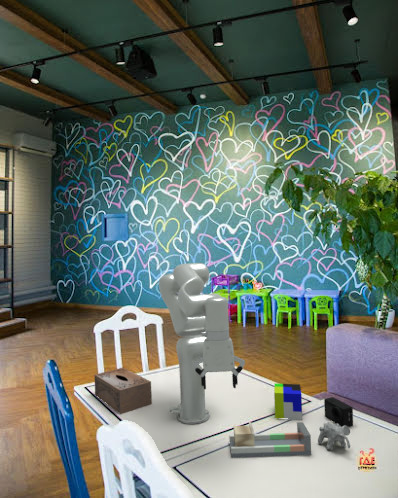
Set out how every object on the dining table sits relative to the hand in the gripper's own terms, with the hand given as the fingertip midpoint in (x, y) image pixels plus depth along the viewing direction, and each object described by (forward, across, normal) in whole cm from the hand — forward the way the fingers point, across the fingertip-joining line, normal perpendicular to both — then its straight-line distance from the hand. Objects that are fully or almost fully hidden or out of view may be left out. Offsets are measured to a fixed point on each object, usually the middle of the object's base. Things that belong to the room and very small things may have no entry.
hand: (219, 387), depth 126 cm
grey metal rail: (+21, +15, 0) cm, 26 cm away
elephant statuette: (+21, +37, -2) cm, 43 cm away
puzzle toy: (+21, +28, +24) cm, 42 cm away
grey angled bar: (+19, +27, -1) cm, 33 cm away
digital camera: (+21, +44, +17) cm, 51 cm away
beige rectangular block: (+19, +7, 0) cm, 20 cm away
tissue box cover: (+21, -41, +45) cm, 64 cm away
